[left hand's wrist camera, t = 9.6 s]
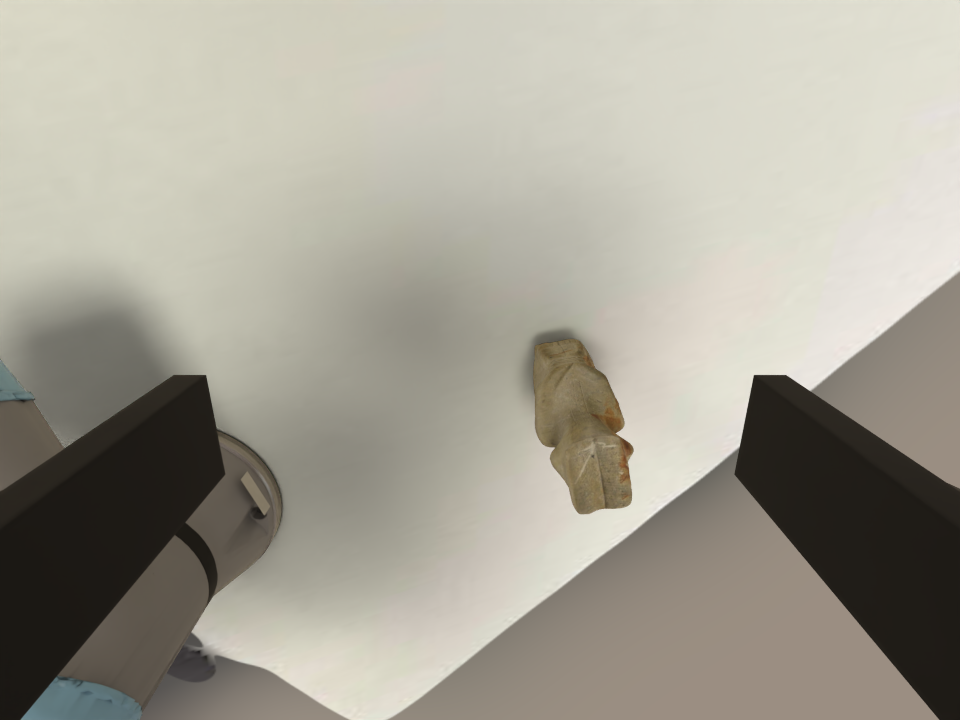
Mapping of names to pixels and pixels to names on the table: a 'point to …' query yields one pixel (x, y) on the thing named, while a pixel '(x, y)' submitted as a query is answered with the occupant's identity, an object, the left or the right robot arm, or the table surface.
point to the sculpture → (581, 426)
